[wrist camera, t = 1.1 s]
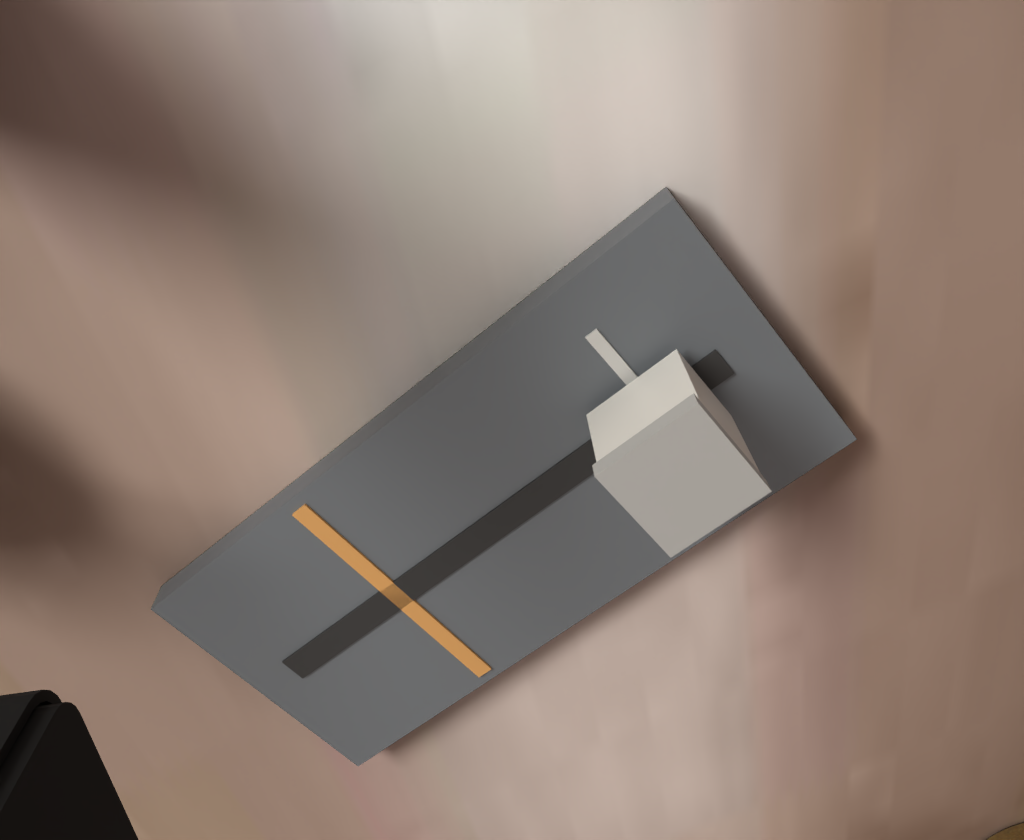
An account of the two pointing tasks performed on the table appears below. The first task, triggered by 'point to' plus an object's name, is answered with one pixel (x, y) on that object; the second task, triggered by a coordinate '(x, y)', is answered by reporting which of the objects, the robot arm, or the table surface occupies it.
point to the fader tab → (673, 455)
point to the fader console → (489, 495)
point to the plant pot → (1010, 833)
